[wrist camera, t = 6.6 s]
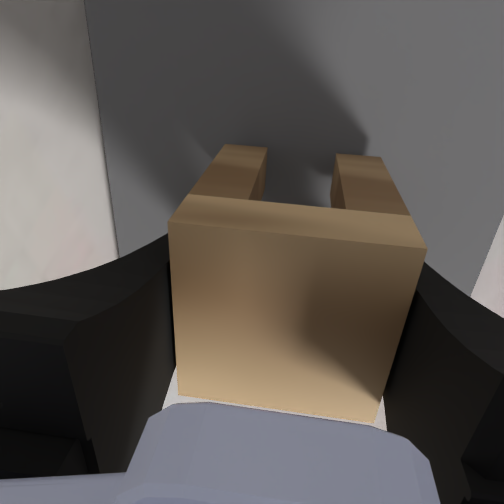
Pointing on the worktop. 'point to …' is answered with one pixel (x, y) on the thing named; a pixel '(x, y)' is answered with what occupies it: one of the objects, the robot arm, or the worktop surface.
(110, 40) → the mat
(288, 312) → the tan notched block
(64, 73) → the worktop surface
